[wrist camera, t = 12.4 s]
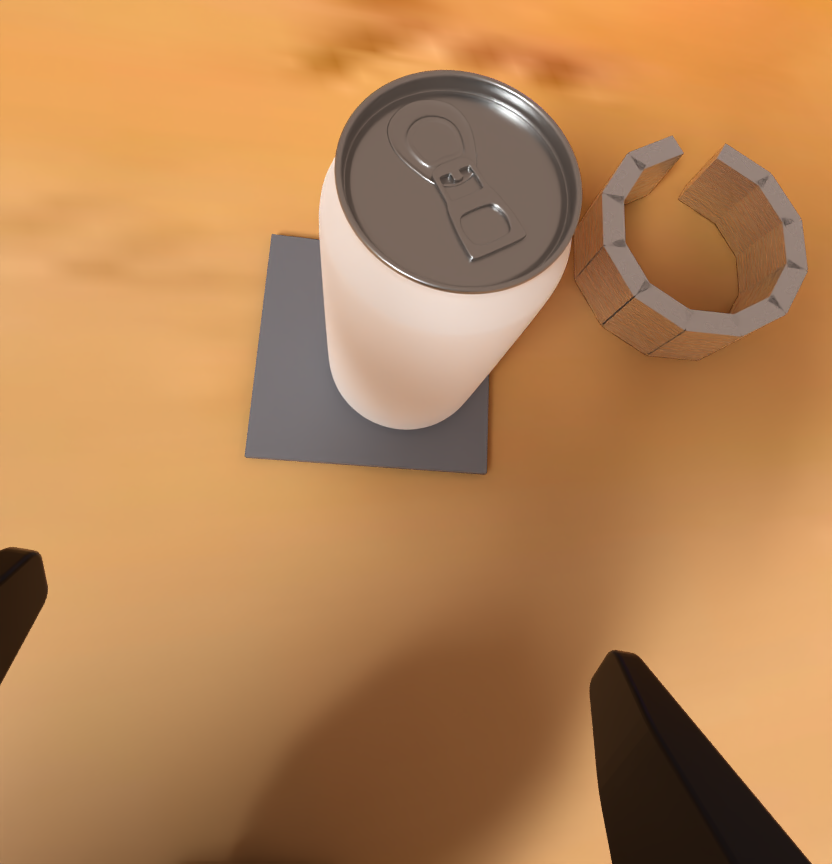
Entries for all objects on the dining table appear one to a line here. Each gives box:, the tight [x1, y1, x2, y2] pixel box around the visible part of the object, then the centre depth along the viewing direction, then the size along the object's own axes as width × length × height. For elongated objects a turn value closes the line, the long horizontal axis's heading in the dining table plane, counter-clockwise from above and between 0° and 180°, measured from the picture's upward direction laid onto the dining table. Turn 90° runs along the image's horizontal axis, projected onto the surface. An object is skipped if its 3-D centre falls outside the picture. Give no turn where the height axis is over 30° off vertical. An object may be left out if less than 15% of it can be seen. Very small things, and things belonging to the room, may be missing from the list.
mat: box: [245, 234, 489, 474], centre depth 24 cm, size 10×10×1 cm
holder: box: [574, 136, 808, 361], centre depth 25 cm, size 10×10×3 cm
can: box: [319, 70, 582, 430], centre depth 18 cm, size 6×6×12 cm
